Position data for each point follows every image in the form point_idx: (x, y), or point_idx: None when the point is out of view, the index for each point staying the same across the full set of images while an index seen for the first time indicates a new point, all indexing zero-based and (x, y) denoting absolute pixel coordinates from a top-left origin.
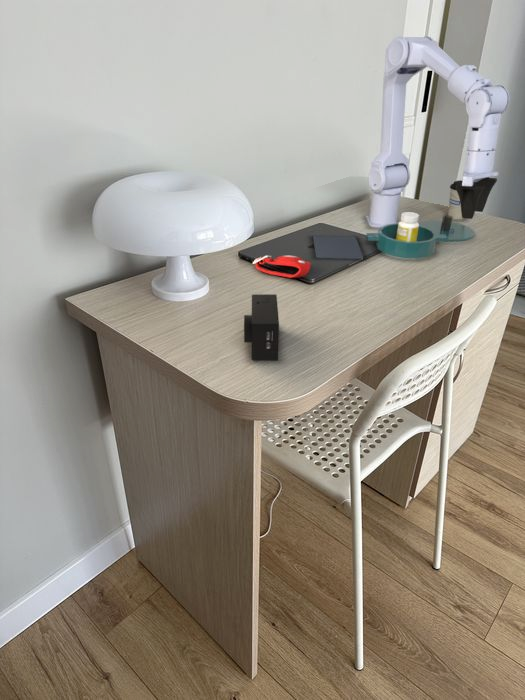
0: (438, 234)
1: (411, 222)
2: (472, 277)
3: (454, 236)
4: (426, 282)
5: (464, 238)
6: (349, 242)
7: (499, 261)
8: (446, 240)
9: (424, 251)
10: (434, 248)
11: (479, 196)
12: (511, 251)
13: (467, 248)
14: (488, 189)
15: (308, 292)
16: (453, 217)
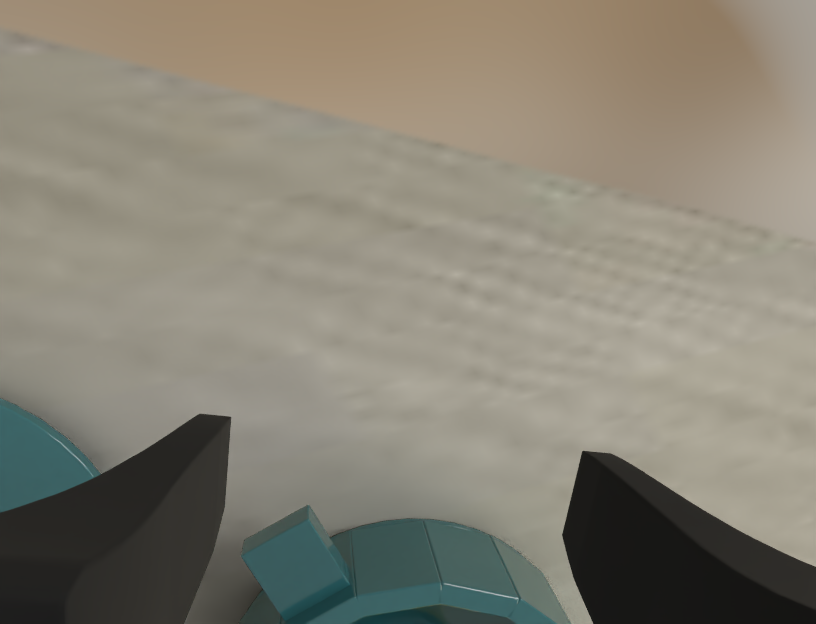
0: (273, 595)
1: None
2: (640, 230)
3: (26, 494)
4: (809, 433)
5: (25, 422)
6: None
7: (279, 115)
8: (311, 514)
9: (522, 572)
10: (376, 539)
11: (746, 565)
12: (3, 55)
13: (144, 360)
14: (136, 549)
15: None
16: None
